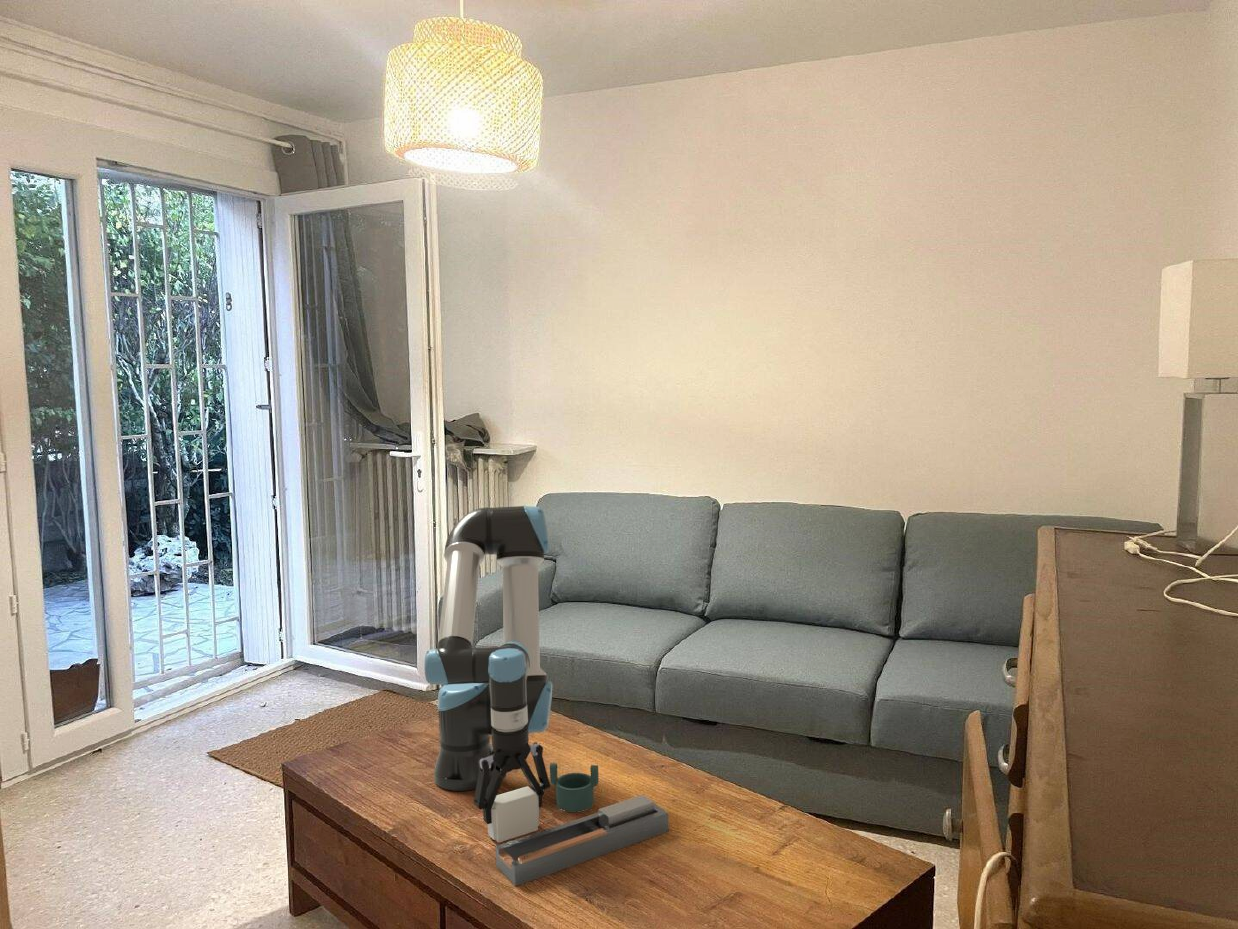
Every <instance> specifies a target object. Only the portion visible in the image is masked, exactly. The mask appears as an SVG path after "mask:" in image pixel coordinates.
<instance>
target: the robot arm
mask: <svg viewBox="0 0 1238 929" xmlns="http://www.w3.org/2000/svg"><path fill="white" fill-rule="evenodd" d="M545 516H546V515H545V512H544V510H543V509H542V507H539V506H533V505H532V506H531V505H530V506H528V505H520V506H518V505H517V506H500V507H499V506H497V507H496V506H495V507H488V506H487V507H479V508H476V509H474V510H471V511H470V512H468V513H466V514H465V515H464V516H463V517H461V519H460V520H459V521H458V522H456V524H455V525H454V526H453V528H452V529H451V531H450V532H449V534H448V536H447V539H446V542H445V545H444V553H443V554H444V555H443V556H444V560H445V561H446V563H447V564H446V572H445V579H444V588H443V596H442V602H441V603H442V605H441V612H440V613H441V614H440V623H439V631H438V638H437V647H436V648H432V649H428V650H427V651H426V653H425V657H424V668H423V669H424V677H425V680H426V682H427V684H430V685H437V686H442V687H440V689H439V691H438V696H437V697H438V698H437V701H438V702H437V712H438V722H439V723H438V726H439V743H440V744H439V746H440V748H439V753H438V755H437V759H436V762H435V765H434V770H433V779H434V783H435V784H436V786H438V787H439V788H441V789H444V790H448V791H454V792H456V791H457V792H460V791H461V792H462V791H463V792H465V791H472V790H475V793H474V798H473V804H474V805H475V807H477V808H478V809H479V810H482V813H483V814H482V815H483V821H484V823H485V824H486V825H487V836H489V837H490V838H491V839H492V840H494V841H496V840H495V839H497V827H496V808H494V807H493V803H494V801H495V798H496V796H497V795H498V793H499V790H500V787H501V785H502V783H503V779H504V778H505V777H506V776H507V773H510V772H512V771H515V770H521V772H522V773H523V775H524V777H525V778H526V780H527V782H528V784H529V785H530V788H531V789H532V790H533V791H534V792H535V793H536V794H537V820H538V826H540V809H541V808H542V807H543V796H544V794H545V790H548V789H550V787H551V783H550V778H549V777H548V772H547V768H546V764H545V761H544V758H543V752H544V748H543V746H542V745H541V744H540V743H538V742H536V741H535V742H533V743H532V744H529V740H530V739H529V738H530V737H529V734H534V733H535V734H536V733H542V732H544V731H546V729H548V727H549V721H550V714H551V709H552V707H551V706H552V700H553V698H552V697H553V682H552V681H550V680H547V673H546V672H545V671H544V669H542V668H541V666H540V664H541V662H540V661H541V660H540V659H541V658H540V656H541V655H540V610H539V609H540V608H539V607H540V606H539V605H540V604H539V597H540V596H539V567H540V565H541V564H542V563H543V562H544V561H545V554H548V553H550V541H549V540H550V539H549V535H548V528H547V521H546V517H545ZM486 555H490V556H491V555H493V556H494V555H496V562H497V564H499V566H501V568H502V601H503V602H502V603H503V604H502V610H503V612H502V613H503V615H502V616H503V619H502V620H503V623H502V624H503V626H502V627H503V631H502V632H503V636H502V637H503V644H502V645H500V646H489V647H487V646H486V647H473V644H474V643H473V641H474V631H475V630H474V629H475V621H476V619H475V618H476V608H477V607H476V606H477V595H478V585H479V574H480V566H481V564H482V563H483V562H484V560H485V556H486ZM490 736H491V737H490ZM490 738H491V739H490ZM530 754H531V755H532V759H533V762H534V766H535V770H536V774H537V777H538V780H537V778H536V777H535V774H534V773H533V771H532V769H531V768H530V767H531V766H529V764H528V762H527V758H528V756H530Z"/></svg>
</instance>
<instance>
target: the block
mask: <svg viewBox="0 0 1238 929" xmlns="http://www.w3.org/2000/svg"><path fill="white" fill-rule="evenodd" d="M493 807H494V808H496V827H497V839H495V840H494V841H496V842H497V843H498V844H499V843H502V842H506V841H508V840H509V841H510V840H511V839H514V838H517V837H521V836H523V835H526V834H529V833H532V832H533V833H534V832H535V831H538V830H539V825H538V820H537V794H536V793H535V792H534V790H533V789H532V787H531V786H530V787H529V786H528V785H527V786H523V787H521V788H517V789H514V790H511V791H507V792H504V793H503V792H502V793H501V794H497V796H496V798H495V801H494V803H493Z"/></svg>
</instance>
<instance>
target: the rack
mask: <svg viewBox="0 0 1238 929" xmlns="http://www.w3.org/2000/svg"><path fill="white" fill-rule="evenodd" d="M669 826H670V825H669V812H668V811H667V810H665V809H664V808H662V807H661V806H659V805H658V804H656V803H655V802H654V800H651V799H650V797H648V796H647V795H644V794H641V795H638V796H635V797H632V798H628V799H626V800H623V801H619V802H617V803H613V804H611V805H607V806H604V807H601V808H599V809H598V812H596V813H592V814H589V815H587V816H586V815H585V816H584V817H581V818H578V819H575V820H572V821H568V822H565V823H562V824H559V825H556V826H553V827H550V828H547V829H543V830H541V831H538V832H535V833H534V832H533V833H532V834H529V835H526V836H523V837H520V838H517V839H514V840H509V841H508V842H505V843H502V844H498V845H495V865H496V867H497V869H499V871H500V872H501V873H502V874H503V875H504V876H505V877H506V878H507V879H508V880H509V881H510V883H511V884H513V885H514V886H515V887H518V886H521V885H523V884H526V883H528V882H532V881H535V880H537V879H540V878H543V877H546V876H548V875H552V874H554V873H557V872H559V871H561V870H564V869H568V868H571V867H573V866H577V865H579V864H581V863H584V862H587V861H590V860H593V859H596V858H598V857H602V856H604V855H607V854H610V853H612V852H614V851H615V852H616V851H618V850H620V849H623V848H626V847H629V846H632V845H634V844H637V843H640V842H643V841H645V840H648V839H652V838H653V837H657V836H660V835H662V834H665V833H668V832H669V829H670V828H669Z"/></svg>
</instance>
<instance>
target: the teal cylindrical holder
mask: <svg viewBox="0 0 1238 929" xmlns="http://www.w3.org/2000/svg"><path fill="white" fill-rule="evenodd" d="M589 769H590V774H587V773H583V772H569V773H566V774H562V775H560V776H558V763H554V762H553V763H550V765H549V783H550V785H553V786H555V795H556V796H555V800H556V807H557V808H558V809H559V810H560V809H562V810H561V811H563V810H565V811H564V812H566V811H569V812H568V813H579V812H578V811H581V812H584V811H583V810H585V811H587V810H590V809H591V808H592V807H593V806H594V802H595V794H594V792H595V791H594V788H595V787H597V786H598V785H599V783H600V782H599V781H600V778H599V765H596V764H590V768H589ZM592 805H593V806H592ZM586 809H587V810H586Z"/></svg>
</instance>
